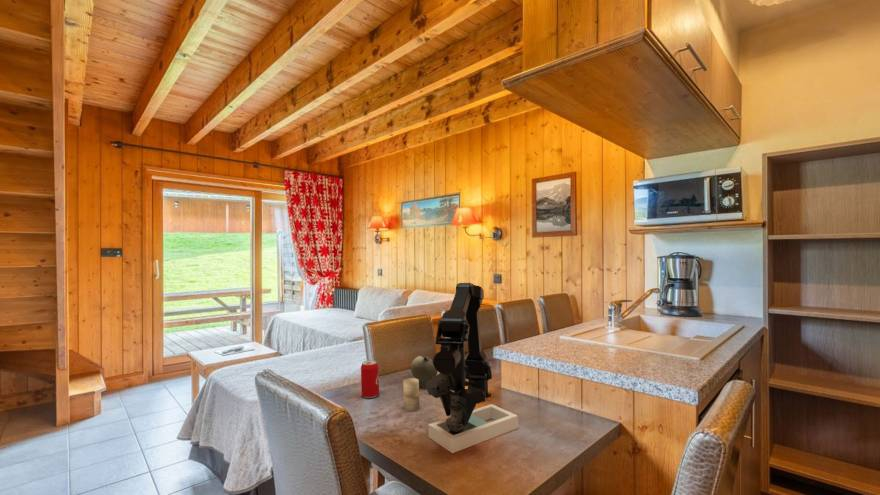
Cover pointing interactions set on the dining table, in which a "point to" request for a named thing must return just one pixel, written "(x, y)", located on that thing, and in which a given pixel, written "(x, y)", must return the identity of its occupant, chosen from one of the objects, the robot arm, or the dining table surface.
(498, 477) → the dining table surface
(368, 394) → the beverage can
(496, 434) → the housing
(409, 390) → the wooden peg
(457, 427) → the salt shaker
